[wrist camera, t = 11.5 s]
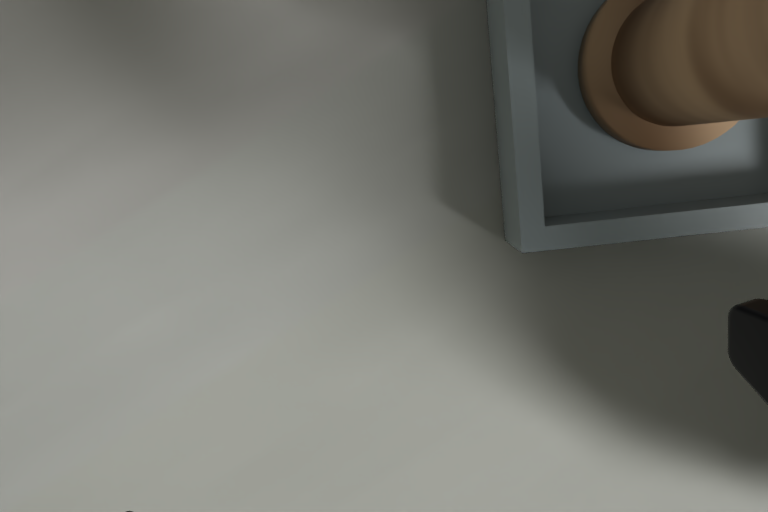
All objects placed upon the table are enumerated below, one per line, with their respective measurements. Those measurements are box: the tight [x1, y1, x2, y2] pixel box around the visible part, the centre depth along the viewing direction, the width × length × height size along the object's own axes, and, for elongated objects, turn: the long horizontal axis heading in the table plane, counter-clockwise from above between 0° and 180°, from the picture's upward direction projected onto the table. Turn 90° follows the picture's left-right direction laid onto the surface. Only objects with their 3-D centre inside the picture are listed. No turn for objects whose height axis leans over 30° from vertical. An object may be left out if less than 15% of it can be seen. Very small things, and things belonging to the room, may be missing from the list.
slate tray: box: [486, 0, 768, 253], centre depth 20 cm, size 12×12×3 cm
